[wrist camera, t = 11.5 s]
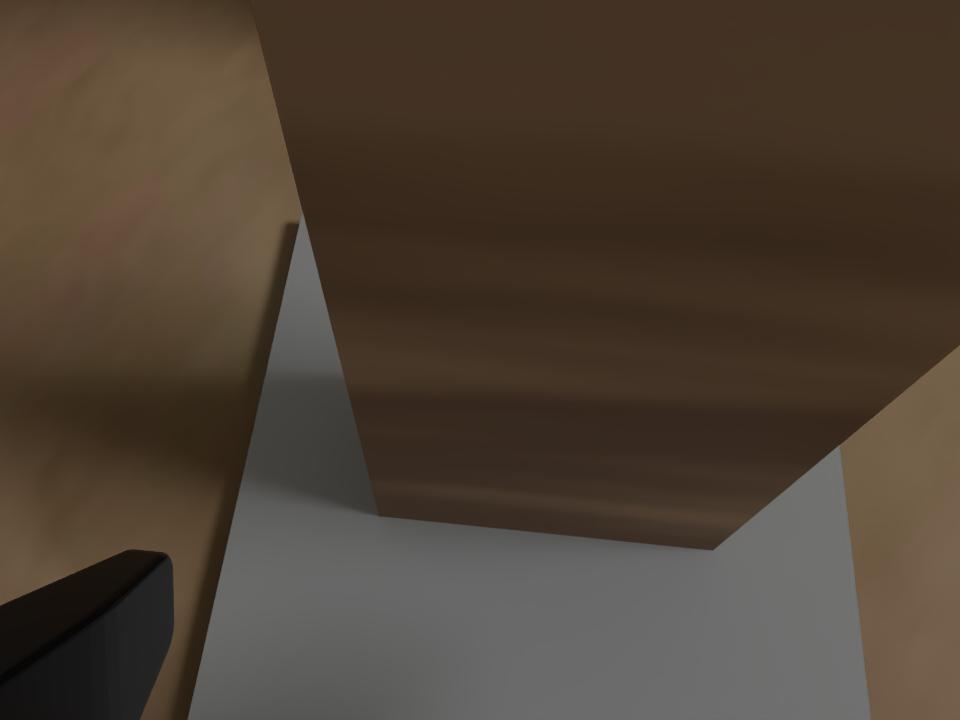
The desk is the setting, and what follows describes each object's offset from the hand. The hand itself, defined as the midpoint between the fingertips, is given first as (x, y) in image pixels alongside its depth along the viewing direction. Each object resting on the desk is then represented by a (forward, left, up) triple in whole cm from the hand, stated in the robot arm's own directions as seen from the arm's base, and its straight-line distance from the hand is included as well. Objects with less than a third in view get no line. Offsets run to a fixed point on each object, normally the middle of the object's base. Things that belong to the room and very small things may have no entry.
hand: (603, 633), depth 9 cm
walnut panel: (+3, +3, -7) cm, 8 cm away
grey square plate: (+3, +3, -7) cm, 8 cm away
